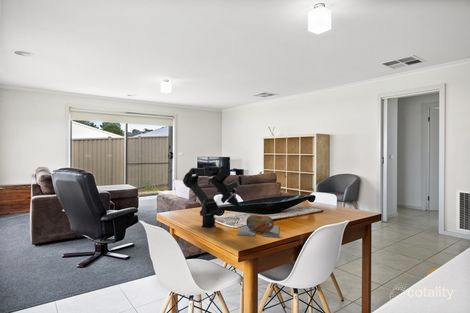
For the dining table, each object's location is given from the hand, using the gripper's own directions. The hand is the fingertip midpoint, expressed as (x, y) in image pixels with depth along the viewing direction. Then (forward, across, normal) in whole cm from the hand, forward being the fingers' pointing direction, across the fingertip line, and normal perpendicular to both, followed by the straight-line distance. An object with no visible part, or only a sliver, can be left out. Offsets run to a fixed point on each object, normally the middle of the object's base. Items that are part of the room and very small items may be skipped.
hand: (239, 206), depth 153 cm
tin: (+17, 0, +1) cm, 17 cm away
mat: (+17, +1, +2) cm, 17 cm away
